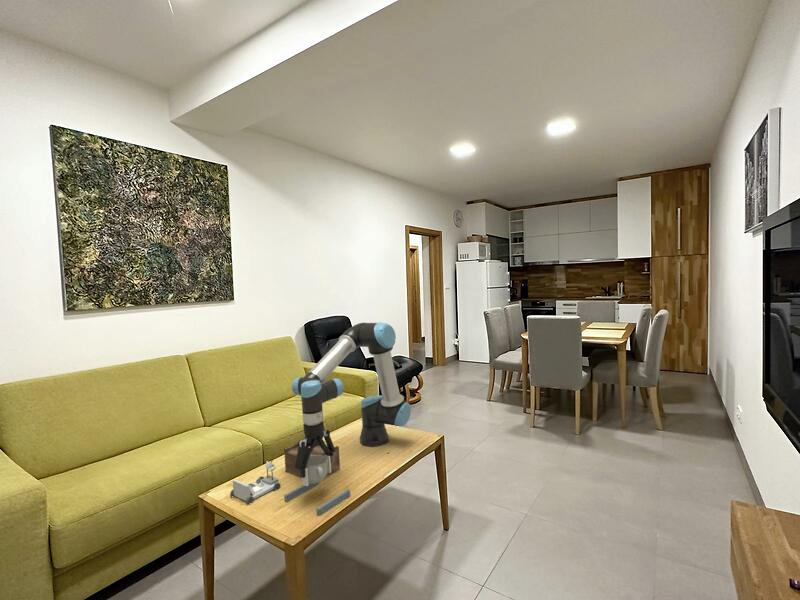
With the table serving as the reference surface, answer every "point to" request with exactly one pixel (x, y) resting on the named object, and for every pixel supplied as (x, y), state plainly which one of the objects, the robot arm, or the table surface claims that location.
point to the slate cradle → (322, 508)
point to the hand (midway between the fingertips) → (317, 478)
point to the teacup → (317, 468)
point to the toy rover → (255, 486)
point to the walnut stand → (293, 450)
